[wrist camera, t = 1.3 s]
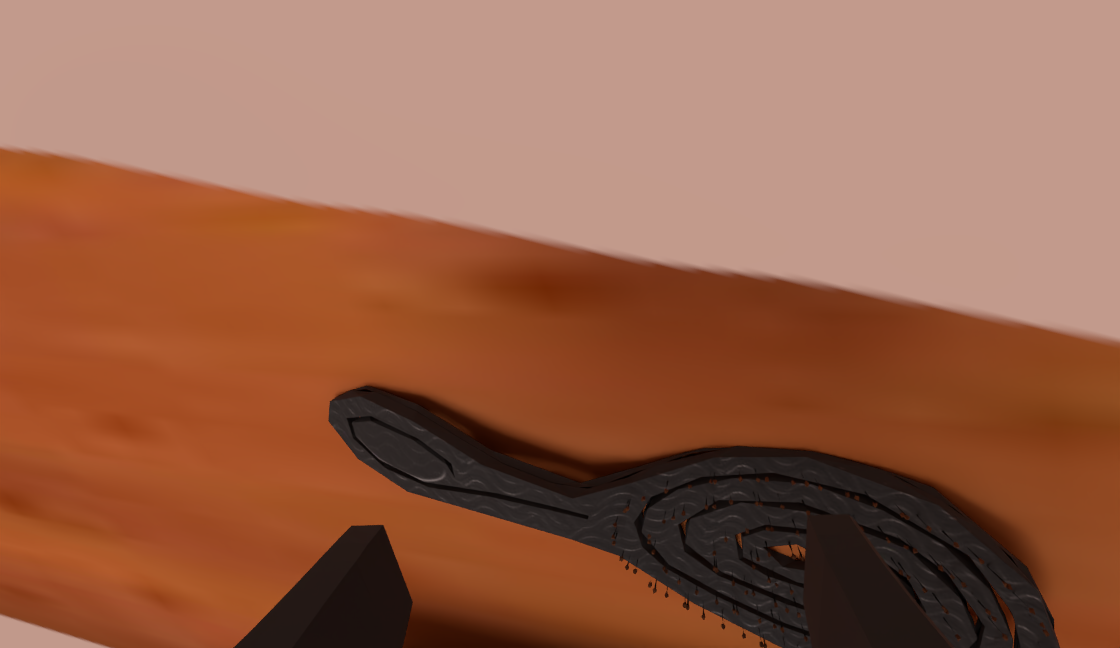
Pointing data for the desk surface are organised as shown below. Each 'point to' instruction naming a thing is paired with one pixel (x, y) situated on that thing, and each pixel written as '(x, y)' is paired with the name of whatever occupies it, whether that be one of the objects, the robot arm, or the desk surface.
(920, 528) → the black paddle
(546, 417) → the desk surface
